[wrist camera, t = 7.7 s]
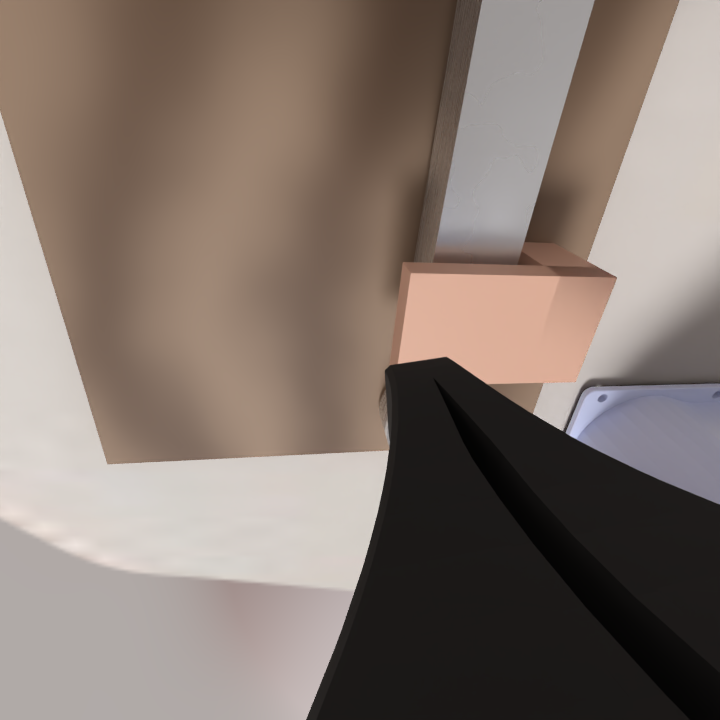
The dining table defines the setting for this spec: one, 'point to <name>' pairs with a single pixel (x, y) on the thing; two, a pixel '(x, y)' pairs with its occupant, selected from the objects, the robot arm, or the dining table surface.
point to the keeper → (503, 315)
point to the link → (496, 128)
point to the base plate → (265, 200)
